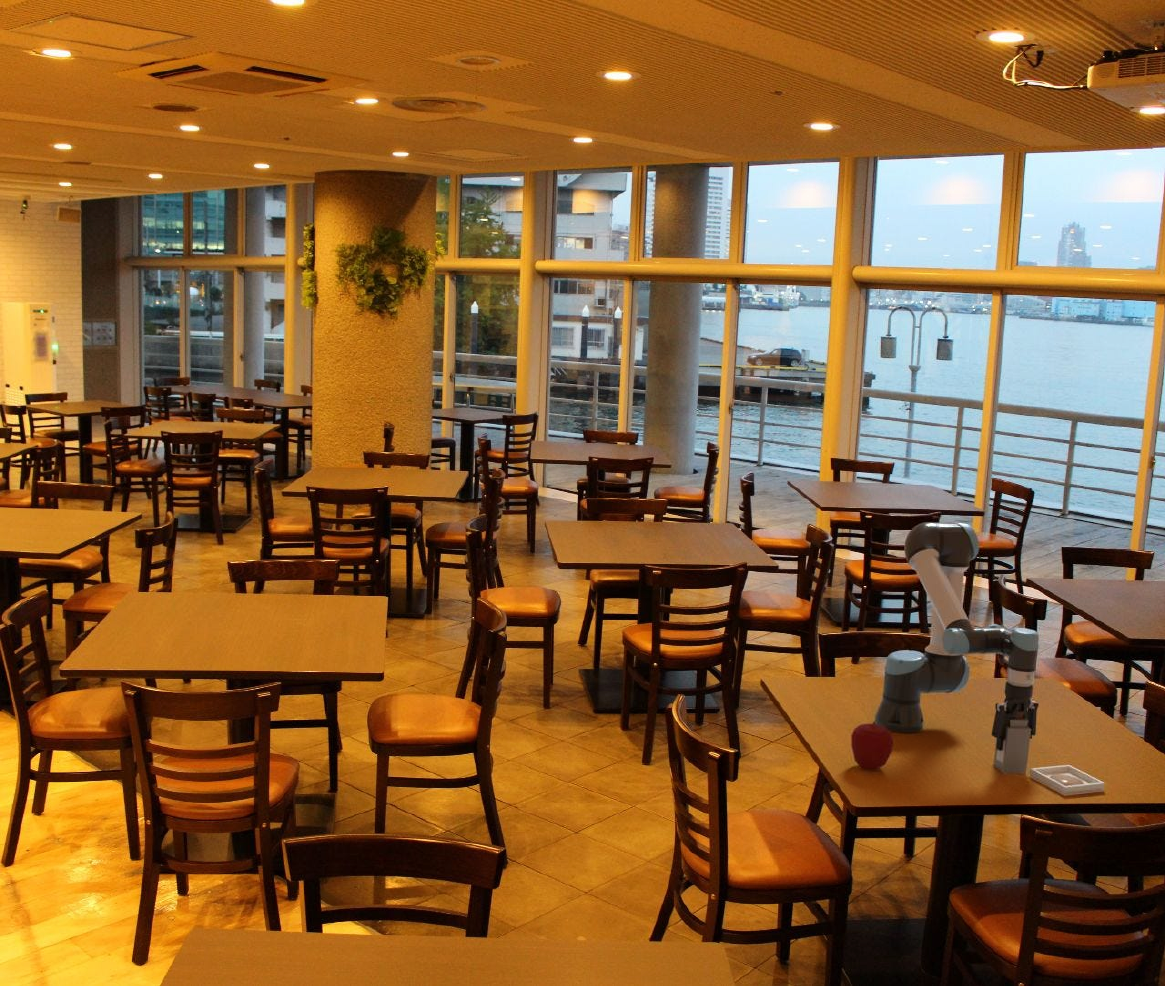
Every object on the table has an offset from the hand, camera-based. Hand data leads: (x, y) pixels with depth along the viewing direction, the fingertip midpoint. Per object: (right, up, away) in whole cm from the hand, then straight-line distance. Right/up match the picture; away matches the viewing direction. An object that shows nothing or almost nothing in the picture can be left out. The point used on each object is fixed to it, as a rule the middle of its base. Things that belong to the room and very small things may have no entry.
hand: (1010, 759), depth 357 cm
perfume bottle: (0, -3, 0) cm, 3 cm away
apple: (-42, -1, -5) cm, 42 cm away
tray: (+13, -5, -8) cm, 16 cm away
